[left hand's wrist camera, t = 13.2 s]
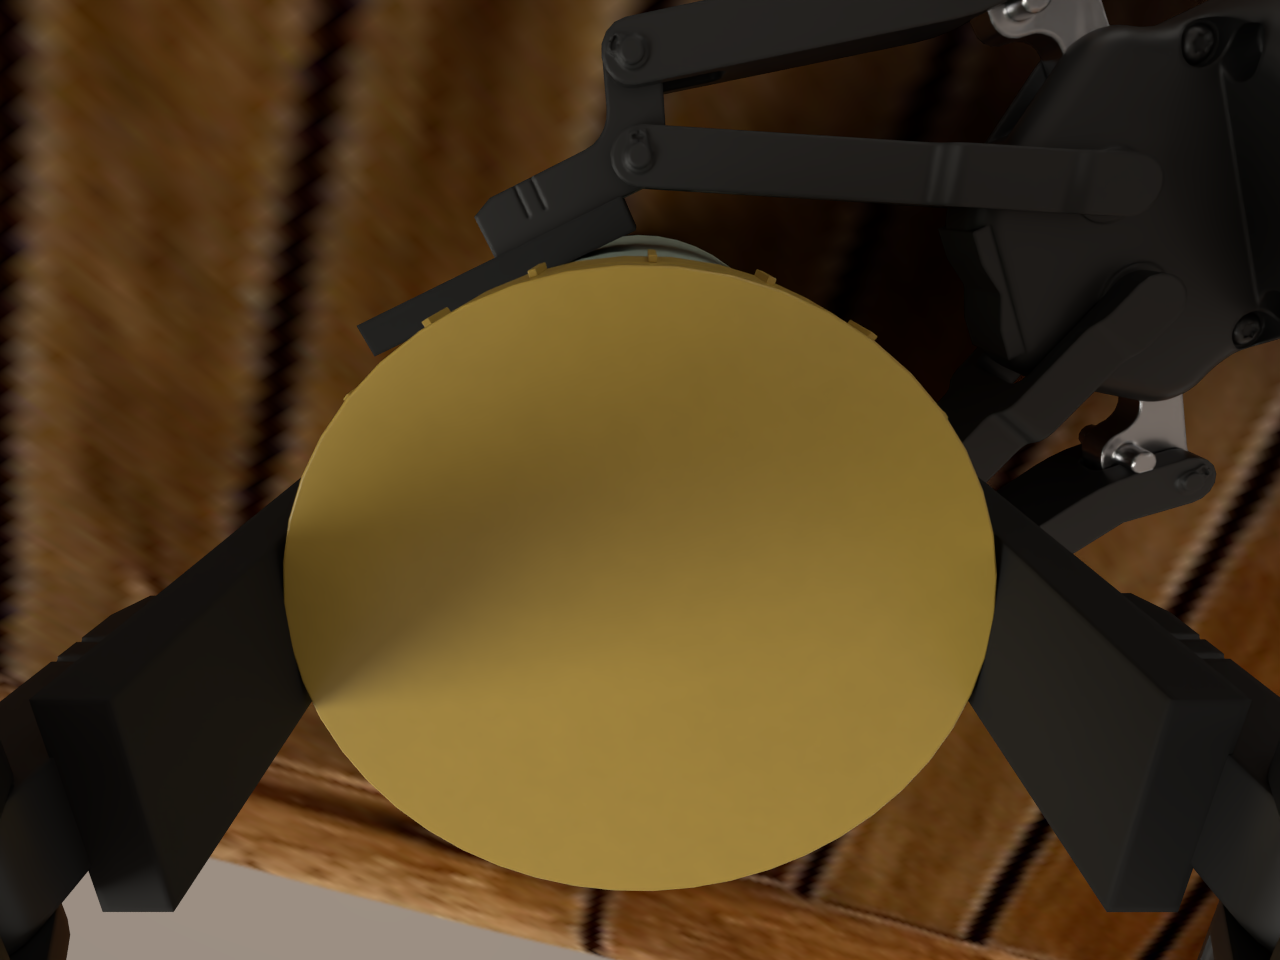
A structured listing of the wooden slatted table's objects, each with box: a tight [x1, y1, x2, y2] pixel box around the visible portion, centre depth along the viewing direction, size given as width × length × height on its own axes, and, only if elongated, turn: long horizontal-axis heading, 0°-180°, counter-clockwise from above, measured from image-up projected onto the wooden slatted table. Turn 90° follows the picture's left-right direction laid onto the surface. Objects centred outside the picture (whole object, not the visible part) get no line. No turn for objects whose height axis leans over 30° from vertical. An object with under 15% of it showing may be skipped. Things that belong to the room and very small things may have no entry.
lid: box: [283, 249, 997, 891], centre depth 11 cm, size 10×10×2 cm
